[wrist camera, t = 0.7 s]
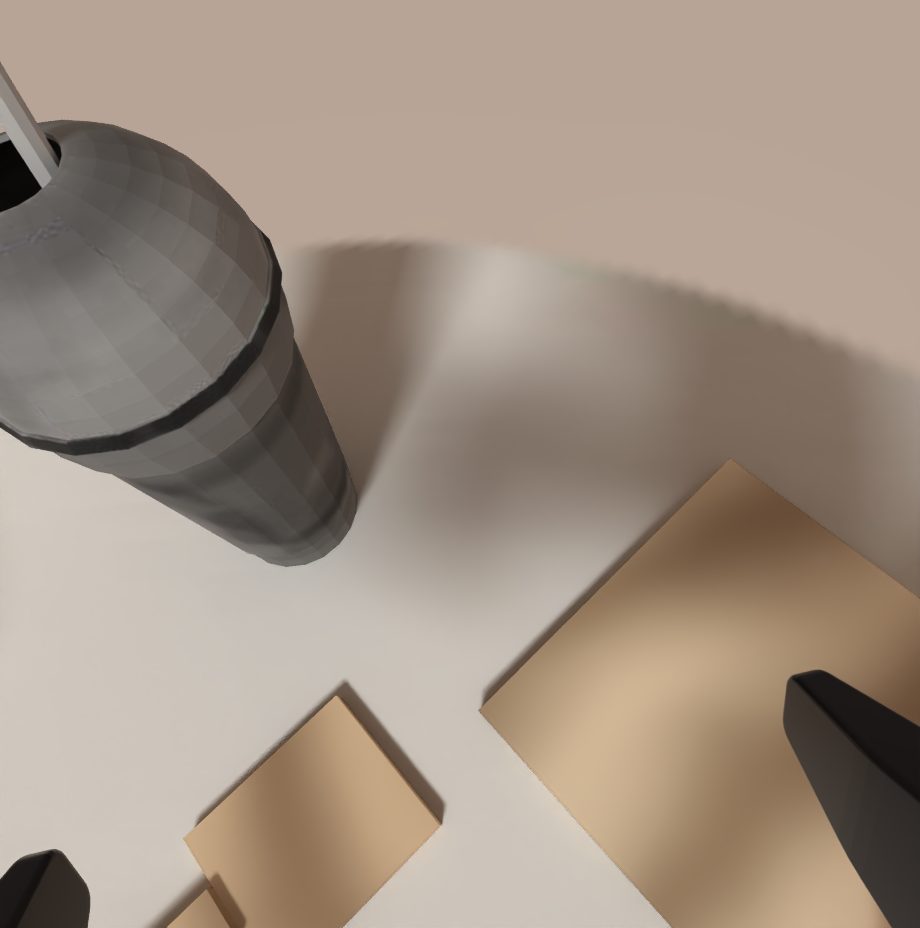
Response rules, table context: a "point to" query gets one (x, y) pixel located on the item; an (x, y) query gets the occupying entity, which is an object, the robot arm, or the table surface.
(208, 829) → the wooden turner
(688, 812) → the cork mat
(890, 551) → the table surface
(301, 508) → the beverage cup
